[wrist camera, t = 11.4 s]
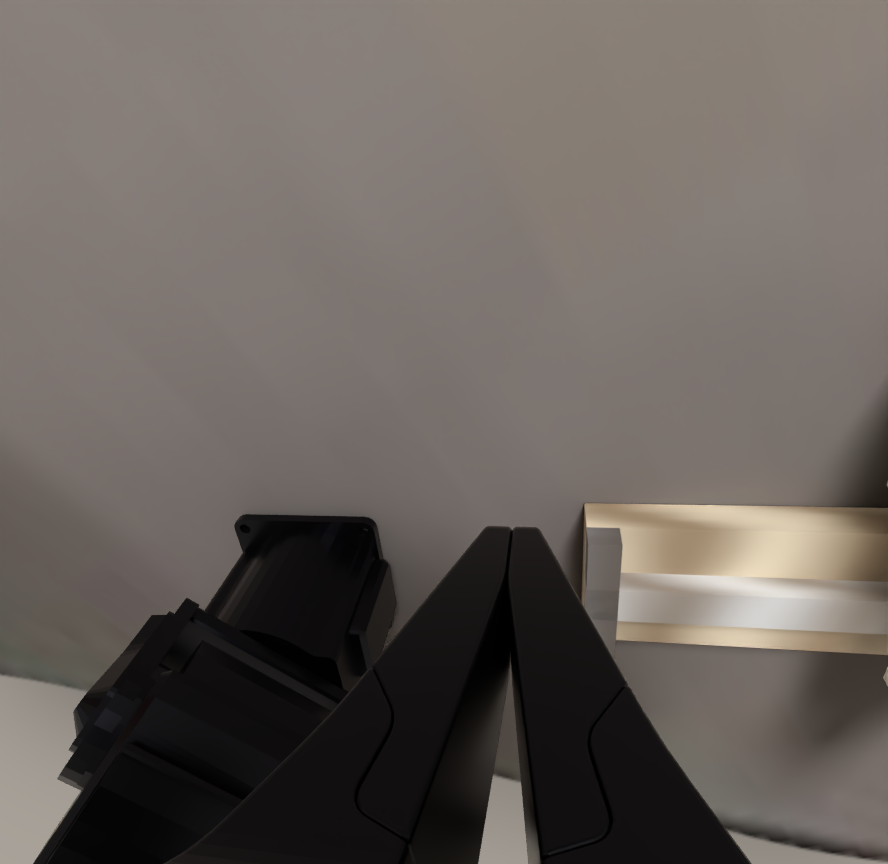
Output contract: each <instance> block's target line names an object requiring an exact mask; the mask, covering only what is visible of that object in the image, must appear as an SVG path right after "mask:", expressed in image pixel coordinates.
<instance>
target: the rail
mask: <svg viewBox="0 0 888 864" xmlns="http://www.w3.org/2000/svg"><path fill="white" fill-rule="evenodd" d="M582 604H583V606H584V608H585V609H586V611H587V613H588V615H589V616H590V618H591V620H592V622H593V623H594V625H595V627H596V629H597V630H598V632H599V634H600V636H601V637H602V639H603V641H604V643H605V644H606V646H607V648H608V650H609V651H610V653H611V655H612V657H613V658H614V659H615V645H616V640H628V641H646V642H664V643H682V644H700V645H718V646H735V647H753V648H771V649H789V650H807V651H825V652H843V653H861V654H879V655H888V508H856V507H791V506H725V505H659V504H594V503H584V536H583V570H582Z"/></svg>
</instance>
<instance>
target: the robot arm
mask: <svg viewBox="0 0 888 864" xmlns="http://www.w3.org/2000/svg"><path fill="white" fill-rule="evenodd" d="M245 525H247V526H249V527H250V528H249V527H247V526H245ZM234 526H235V531H236V534H237V536H238V539H239V542H240V545H241V548H242V551H243V554H242V555H241V557H240V558H239V560H238V561H237V563H236V564H235V566H234V567H233V569H232V570H231V572H230V573H229V575H228V576H227V578H226V579H225V581H224V582H223V584H222V585H221V587H220V588H219V590H218V591H217V593H216V594H215V596H214V597H213V599H212V600H211V602H210V603H209V605H208V606H207V608H206V609H205V611H204V610H202V609H200V608H199V604H197V603H195V602H193V601H192V600H190V599H188V598H186V599H185V601H184V602H183V603H182V605H181V606H180V607H179V609H178V610H177V611H176V613H175V614H174V613H172V612H170V611H169V612H168V614H167V615H152V616H151V617H150V618H149V620H148V621H147V622H146V623H145V625H144V626H143V627H142V629H141V630H140V631H139V633H138V634H137V635H136V637H135V638H134V639H133V640H132V642H131V643H130V644H129V646H128V647H127V648H126V649H125V651H124V652H123V653H122V654H121V655H120V657H119V658H118V659H117V660H116V661H115V662H114V663H113V664H112V666H111V667H110V668H109V669H108V670H107V671H106V672H105V673H104V674H103V676H102V677H101V678H100V679H99V680H98V681H97V682H96V683H95V685H94V686H93V687H92V688H91V689H90V690H89V691H88V692H87V694H86V695H85V696H84V698H83V699H82V700H81V701H80V703H79V704H78V706H77V707H76V709H75V710H74V712H73V713H74V721H75V729H76V736H77V738H76V739H75V741H74V742H73V743H72V745H71V747H70V748H69V751H71V752H73V753H74V754H73V755H72V757H71V758H70V760H69V761H68V763H67V764H66V766H65V767H64V769H63V770H62V772H61V774H60V775H59V777H58V780H60V781H63V782H64V783H66V784H69V785H71V786H73V787H75V788H77V789H79V790H81V792H80V793H79V795H78V796H77V798H76V799H75V801H74V802H73V804H72V805H71V807H70V808H69V809H68V811H67V812H66V814H65V815H64V817H63V818H62V820H61V821H60V823H59V824H58V826H57V827H56V829H55V830H54V832H53V833H52V835H51V836H50V838H49V839H48V841H47V843H46V844H45V846H44V847H43V849H42V851H41V852H40V854H39V855H38V857H37V858H36V860H35V862H34V863H33V864H478V861H479V854H480V849H481V843H482V837H483V831H484V824H485V819H486V812H487V807H488V801H489V795H490V789H491V782H492V776H493V770H494V764H495V758H496V752H497V746H498V740H499V734H500V728H501V722H502V716H503V710H504V704H505V698H506V692H507V686H508V679H509V672H510V662H511V668H512V684H513V696H514V707H515V718H516V729H517V741H518V752H519V763H520V774H521V786H522V796H523V808H524V820H525V831H526V842H527V852H528V864H751V862H750V861H749V860H748V858H747V857H746V856H745V854H744V853H743V851H742V850H741V849H740V847H739V846H738V845H737V843H736V842H735V841H734V840H733V838H732V837H731V835H730V834H729V833H728V831H727V830H726V829H725V827H724V826H723V824H722V823H721V822H720V820H719V819H718V818H717V816H716V815H715V814H714V812H713V811H712V810H711V808H710V807H709V806H708V804H707V803H706V802H705V800H704V799H703V798H702V796H701V795H700V793H699V792H698V791H697V789H696V788H695V787H694V785H693V784H692V783H691V781H690V780H689V778H688V777H687V776H686V774H685V773H684V771H683V770H682V768H681V767H680V766H679V764H678V763H677V761H676V760H675V758H674V757H673V756H672V754H671V753H670V751H669V750H668V748H667V747H666V746H665V744H664V742H663V741H662V739H661V738H660V736H659V734H658V733H657V731H656V729H655V728H654V726H653V725H652V723H651V721H650V720H649V718H648V717H647V715H646V713H645V712H644V710H643V708H642V707H641V705H640V703H639V701H638V700H637V698H636V696H635V694H634V693H633V691H632V689H631V688H630V687H628V683H627V681H626V679H625V677H624V676H623V674H622V672H621V670H620V669H619V667H618V665H617V663H616V662H615V660H614V658H613V657H612V655H611V653H610V651H609V650H608V648H607V646H606V644H605V643H604V641H603V639H602V637H601V636H600V634H599V632H598V630H597V629H596V627H595V625H594V623H593V622H592V620H591V618H590V616H589V615H588V613H587V611H586V609H585V608H584V606H583V604H582V602H581V601H580V599H579V597H578V595H577V594H576V592H575V590H574V588H573V587H572V585H571V583H570V582H569V580H568V578H567V576H566V575H565V573H564V571H563V569H562V568H561V566H560V564H559V562H558V561H557V559H556V557H555V555H554V554H553V552H552V550H551V548H550V547H549V545H548V543H547V541H546V540H545V538H544V536H543V534H542V533H541V531H540V530H539V529H538V528H536V527H515V528H514V529H513V530H511V528H510V527H504V526H488V527H486V528H484V530H483V531H482V532H481V533H480V534H479V536H478V537H477V538H476V539H475V541H474V542H473V543H472V544H471V545H470V547H469V548H468V549H467V550H466V551H465V553H464V554H463V555H462V556H461V558H460V559H459V560H458V561H457V562H456V564H455V565H454V566H453V567H452V568H451V570H450V571H449V572H448V573H447V575H446V576H445V577H444V578H443V579H442V581H441V582H440V583H439V584H438V585H437V587H436V588H435V589H434V590H433V592H432V593H431V594H430V595H429V596H428V598H427V599H426V600H425V601H424V603H423V604H422V605H421V606H420V607H419V609H418V610H417V611H416V612H415V613H414V615H413V616H412V617H411V618H410V620H409V621H408V622H407V623H406V624H405V626H404V627H403V628H402V629H401V630H400V632H399V633H398V634H397V635H396V637H395V638H394V639H393V640H392V641H391V643H390V644H389V645H388V646H387V647H386V649H385V650H384V651H383V652H382V650H383V647H384V643H385V640H386V637H387V633H388V630H389V629H390V628H391V627H392V624H393V621H394V614H393V613H394V610H395V606H396V598H395V592H394V587H393V582H392V576H391V571H390V565H389V564H388V562H387V561H386V560H383V556H382V551H381V546H380V540H379V535H378V530H377V526H376V523H375V522H374V521H373V520H372V519H370V518H367V517H347V516H298V515H250V514H246V515H242V516H240V517H239V519H238V520H237V521H236V523H235V525H234ZM361 527H364V528H366V529H368V531H366V530H363V529H362V528H361ZM381 653H382V654H381Z"/></svg>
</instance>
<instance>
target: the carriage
mask: <svg viewBox="0 0 888 864" xmlns="http://www.w3.org/2000/svg"><path fill="white" fill-rule="evenodd" d="M883 679H884V681H885V682H886V684H887V686H888V667H887V670H886V672H885V674H884V677H883Z"/></svg>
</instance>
